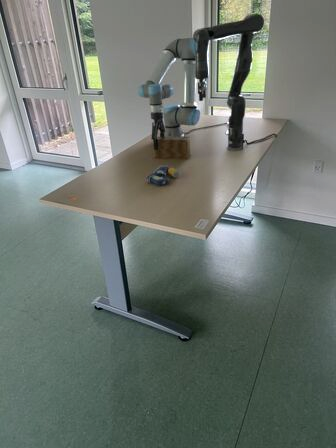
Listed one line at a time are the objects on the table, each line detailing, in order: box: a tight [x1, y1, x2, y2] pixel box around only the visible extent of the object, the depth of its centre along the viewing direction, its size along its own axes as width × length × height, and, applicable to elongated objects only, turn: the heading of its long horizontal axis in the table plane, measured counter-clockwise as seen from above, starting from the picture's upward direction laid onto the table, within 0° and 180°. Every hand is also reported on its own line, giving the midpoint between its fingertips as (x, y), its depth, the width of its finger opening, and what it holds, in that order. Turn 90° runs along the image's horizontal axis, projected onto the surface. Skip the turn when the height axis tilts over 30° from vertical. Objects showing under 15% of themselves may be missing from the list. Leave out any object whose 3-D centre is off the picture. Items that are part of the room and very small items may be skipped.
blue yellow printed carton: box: [146, 164, 180, 186], centre depth 185 cm, size 21×4×15 cm
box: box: [153, 136, 191, 160], centre depth 211 cm, size 22×6×12 cm, turn 74°
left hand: (159, 146), depth 213 cm, fingers open, 13 cm apart
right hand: (202, 99), depth 198 cm, fingers open, 8 cm apart
